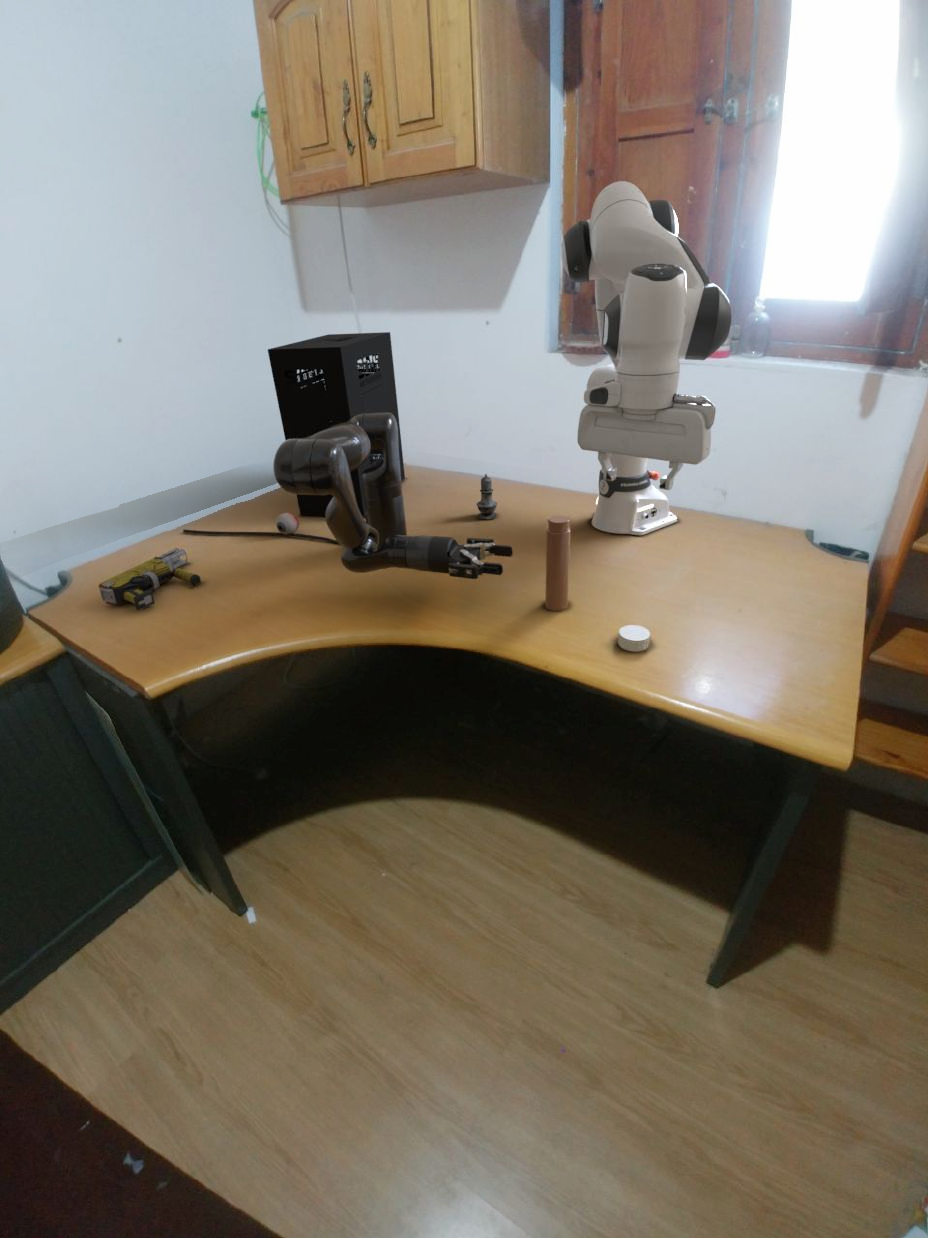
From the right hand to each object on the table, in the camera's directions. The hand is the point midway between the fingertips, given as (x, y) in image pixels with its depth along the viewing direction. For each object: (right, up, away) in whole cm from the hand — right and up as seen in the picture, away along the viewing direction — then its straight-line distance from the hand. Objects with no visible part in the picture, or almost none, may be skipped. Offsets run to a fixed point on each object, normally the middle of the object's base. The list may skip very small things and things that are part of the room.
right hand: (636, 483), depth 95 cm
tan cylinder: (-9, -19, +28) cm, 34 cm away
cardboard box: (-62, +18, +96) cm, 115 cm away
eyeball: (-75, +2, +70) cm, 103 cm away
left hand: (-19, -10, +26) cm, 34 cm away
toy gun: (-97, -14, +45) cm, 107 cm away
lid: (+3, -24, +13) cm, 28 cm away
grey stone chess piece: (-21, +7, +74) cm, 77 cm away
